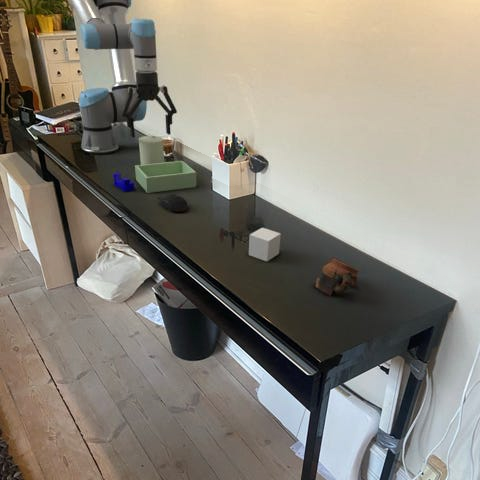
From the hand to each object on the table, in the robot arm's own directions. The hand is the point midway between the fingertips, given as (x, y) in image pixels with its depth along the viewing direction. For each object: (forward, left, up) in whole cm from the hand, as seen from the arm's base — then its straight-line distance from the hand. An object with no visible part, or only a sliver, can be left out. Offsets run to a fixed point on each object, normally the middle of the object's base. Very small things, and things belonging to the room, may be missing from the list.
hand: (150, 135), depth 180 cm
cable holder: (+15, -15, -13) cm, 25 cm away
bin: (+16, 0, -13) cm, 21 cm away
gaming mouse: (+37, -5, -13) cm, 39 cm away
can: (0, 0, -13) cm, 13 cm away
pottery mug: (+102, +15, -13) cm, 104 cm away
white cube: (+79, +7, -13) cm, 80 cm away
